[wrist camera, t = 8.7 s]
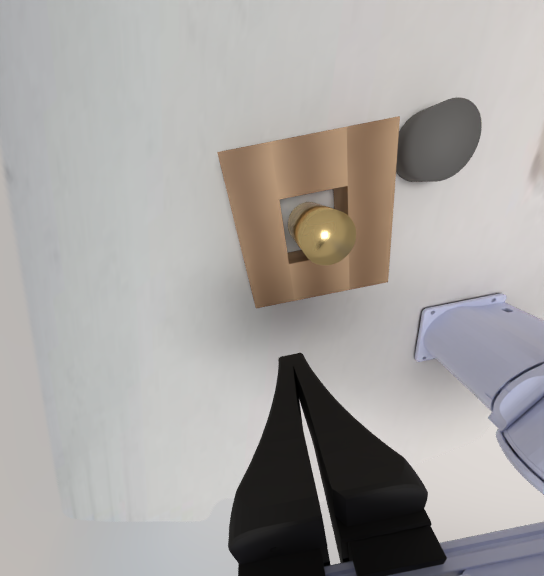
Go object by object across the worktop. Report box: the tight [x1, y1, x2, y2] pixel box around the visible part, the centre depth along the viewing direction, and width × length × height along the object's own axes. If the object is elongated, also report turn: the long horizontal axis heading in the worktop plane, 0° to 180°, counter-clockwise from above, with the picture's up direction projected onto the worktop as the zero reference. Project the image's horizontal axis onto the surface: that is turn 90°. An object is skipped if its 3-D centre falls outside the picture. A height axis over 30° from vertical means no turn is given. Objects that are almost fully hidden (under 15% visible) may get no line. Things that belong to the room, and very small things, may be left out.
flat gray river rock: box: [396, 98, 481, 182], centre depth 17 cm, size 5×5×2 cm
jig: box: [217, 116, 400, 308], centre depth 18 cm, size 12×12×3 cm
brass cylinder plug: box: [288, 202, 356, 265], centre depth 17 cm, size 4×4×6 cm
